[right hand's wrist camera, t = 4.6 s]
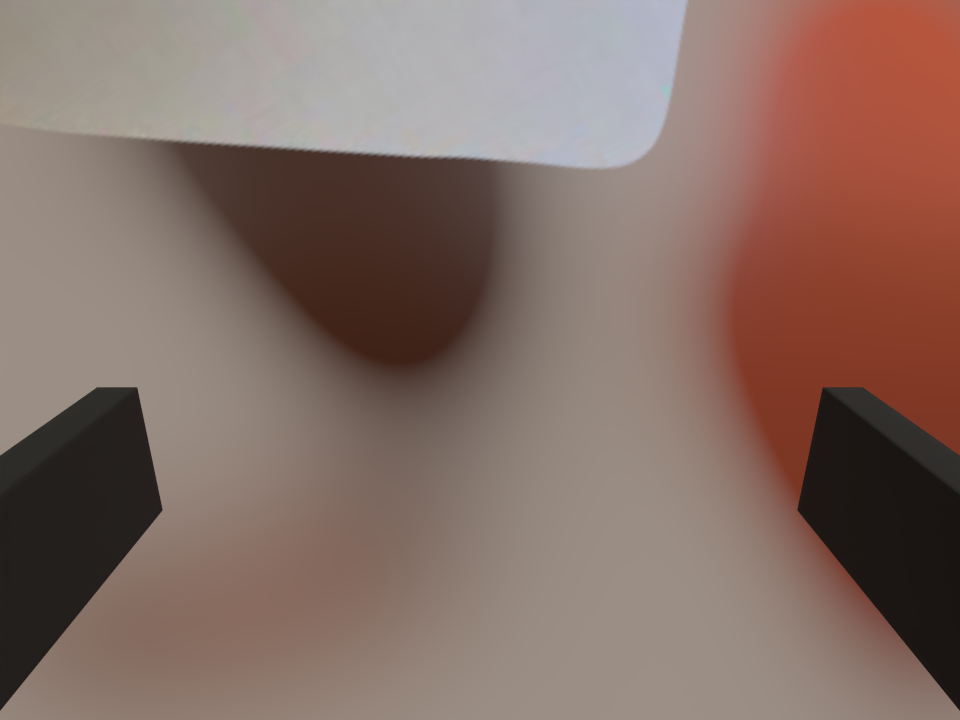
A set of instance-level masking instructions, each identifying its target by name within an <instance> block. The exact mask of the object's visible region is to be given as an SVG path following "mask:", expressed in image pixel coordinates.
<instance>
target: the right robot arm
mask: <svg viewBox="0 0 960 720" xmlns="http://www.w3.org/2000/svg"><path fill="white" fill-rule="evenodd" d="M161 511H162V505H161V500H160V495H159V491H158V486H157V481H156V476H155V471H154V466H153V462H152V457H151V452H150V447H149V442H148V437H147V433H146V428H145V423H144V418H143V413H142V408H141V404H140V399H139V394H138V389H137V388H136V387H131V388H130V387H127V388H126V387H121V388H120V387H109V388H108V387H104V388H103V387H100V388H99V387H97V388H96V389H94V390H93V391H91V392H90V393H89V394H87V395H86V396H84V397H83V398H81V399H80V400H79V401H77V402H76V403H74V404H73V405H72V406H70V407H69V408H67V409H66V410H64V411H63V412H62V413H60V414H59V415H57V416H56V417H54V418H53V419H52V420H50V421H49V422H47V423H46V424H45V425H43V426H42V427H40V428H39V429H37V430H36V431H35V432H33V433H32V434H30V435H29V436H27V437H26V438H25V439H23V440H22V441H20V442H19V443H17V444H16V445H15V446H13V447H12V448H10V449H9V450H8V451H6V452H5V453H3V454H2V455H0V710H1V709H2V708H3V707H4V705H5V704H6V703H7V702H8V700H9V699H10V698H11V697H12V695H13V694H14V693H15V692H16V690H17V689H18V688H19V687H20V686H21V684H22V683H23V682H24V681H25V679H26V678H27V677H28V676H29V674H30V673H31V672H32V671H33V670H34V668H35V667H36V666H37V665H38V663H39V662H40V661H41V660H42V658H43V657H44V656H45V655H46V653H47V652H48V651H49V650H50V648H51V647H52V646H53V645H54V644H55V642H56V641H57V640H58V639H59V637H60V636H61V635H62V634H63V632H64V631H65V630H66V629H67V627H68V626H69V625H70V624H71V622H72V621H73V620H74V619H75V618H76V616H77V615H78V614H79V613H80V611H81V610H82V609H83V608H84V606H85V605H86V604H87V603H88V602H89V600H90V599H91V598H92V597H93V595H94V594H95V593H96V592H97V590H98V589H99V588H100V587H101V586H102V584H103V583H104V582H105V581H106V579H107V578H108V577H109V576H110V574H111V573H112V572H113V571H114V569H115V568H116V567H117V566H118V564H119V563H120V562H121V561H122V560H123V558H124V557H125V556H126V555H127V553H128V552H129V551H130V550H131V548H132V547H133V546H134V545H135V544H136V542H137V541H138V540H139V539H140V537H141V536H142V535H143V534H144V532H145V531H146V530H147V529H148V528H149V526H150V525H151V524H152V523H153V521H154V520H155V519H156V518H157V516H158V515H159V514H160V513H161ZM798 511H799V513H800V514H801V515H802V516H803V518H804V519H805V520H806V521H807V523H808V524H809V525H810V526H811V527H812V529H813V530H814V531H815V532H816V534H817V535H818V536H819V537H820V539H821V540H822V541H823V542H824V544H825V545H826V546H827V547H828V548H829V550H830V551H831V552H832V553H833V555H834V556H835V557H836V558H837V560H838V561H839V562H840V563H841V565H842V566H843V567H844V568H845V569H846V571H847V572H848V573H849V574H850V576H851V577H852V578H853V579H854V581H855V582H856V583H857V584H858V586H859V587H860V588H861V589H862V590H863V592H864V593H865V594H866V595H867V597H868V598H869V599H870V600H871V602H872V603H873V604H874V605H875V607H876V608H877V609H878V610H879V611H880V613H881V614H882V615H883V616H884V617H885V619H886V620H887V621H888V623H889V624H890V625H891V626H892V628H893V629H894V630H895V631H896V632H897V634H898V635H899V636H900V637H901V639H902V640H903V641H904V642H905V644H906V645H907V646H908V647H909V648H910V650H911V651H912V652H913V653H914V655H915V656H916V657H917V658H918V660H919V661H920V662H921V663H922V665H923V666H924V667H925V668H926V669H927V671H928V672H929V673H930V674H931V676H932V677H933V678H934V679H935V681H936V682H937V683H938V684H939V686H940V687H941V688H942V689H943V690H944V692H945V693H946V694H947V695H948V697H949V698H950V699H951V700H952V702H953V703H954V704H955V705H956V706H957V708H958V709H959V710H960V455H958V454H957V453H955V452H954V451H952V450H951V449H950V448H948V447H947V446H945V445H944V444H943V443H941V442H940V441H938V440H937V439H935V438H934V437H932V436H931V435H930V434H928V433H927V432H925V431H924V430H923V429H921V428H920V427H918V426H917V425H915V424H914V423H913V422H911V421H910V420H908V419H907V418H906V417H904V416H903V415H901V414H900V413H898V412H897V411H896V410H894V409H893V408H891V407H890V406H888V405H887V404H886V403H884V402H883V401H881V400H880V399H879V398H877V397H876V396H874V395H873V394H871V393H870V392H869V391H867V390H866V389H864V388H862V387H861V388H860V387H857V388H856V387H853V388H852V387H849V388H848V387H843V388H842V387H841V388H840V387H836V388H835V387H824V388H823V389H822V394H821V399H820V404H819V408H818V413H817V418H816V423H815V428H814V433H813V438H812V442H811V447H810V452H809V457H808V462H807V466H806V471H805V476H804V481H803V486H802V491H801V495H800V500H799V505H798Z"/></svg>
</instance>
